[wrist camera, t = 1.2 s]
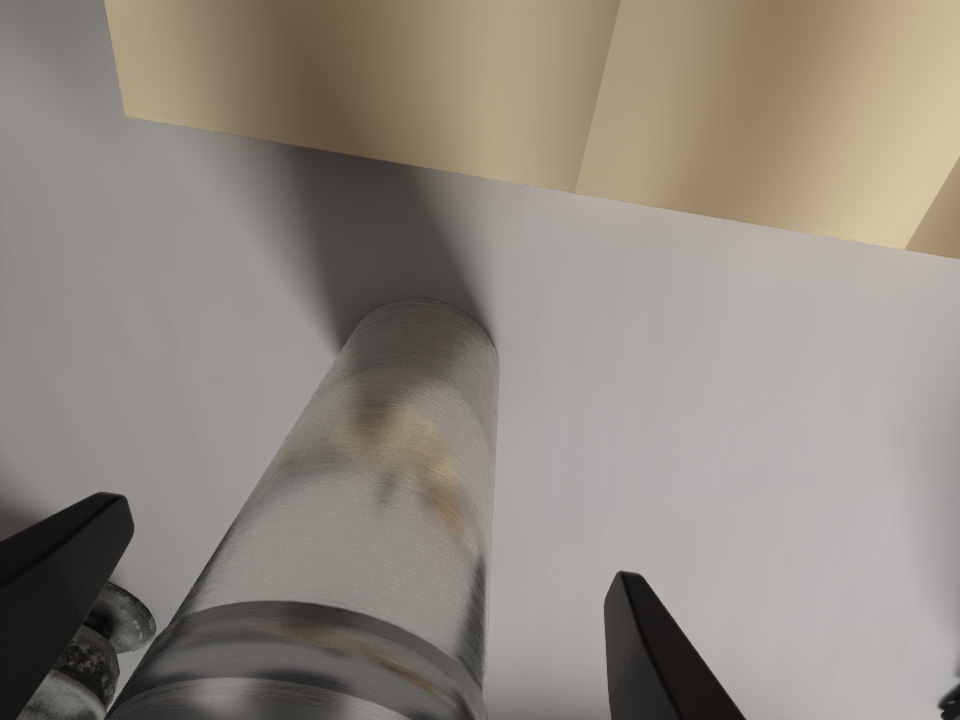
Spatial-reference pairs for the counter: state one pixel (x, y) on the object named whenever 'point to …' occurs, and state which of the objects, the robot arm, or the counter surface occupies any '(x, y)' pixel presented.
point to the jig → (591, 97)
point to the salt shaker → (92, 660)
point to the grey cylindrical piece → (353, 547)
